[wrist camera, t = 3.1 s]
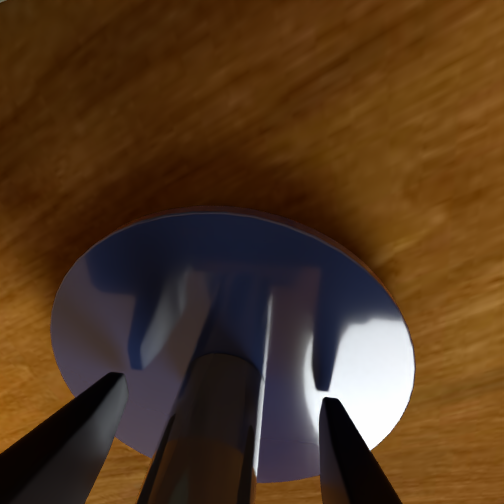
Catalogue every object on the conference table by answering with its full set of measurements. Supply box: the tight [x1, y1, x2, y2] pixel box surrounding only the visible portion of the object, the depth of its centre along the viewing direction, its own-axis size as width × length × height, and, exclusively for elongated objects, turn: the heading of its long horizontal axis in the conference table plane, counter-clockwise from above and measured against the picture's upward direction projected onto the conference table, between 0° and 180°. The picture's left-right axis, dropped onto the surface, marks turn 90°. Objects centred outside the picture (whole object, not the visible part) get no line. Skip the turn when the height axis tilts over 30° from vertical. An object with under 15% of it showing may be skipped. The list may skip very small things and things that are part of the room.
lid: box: [50, 206, 416, 504], centre depth 8 cm, size 11×11×6 cm
